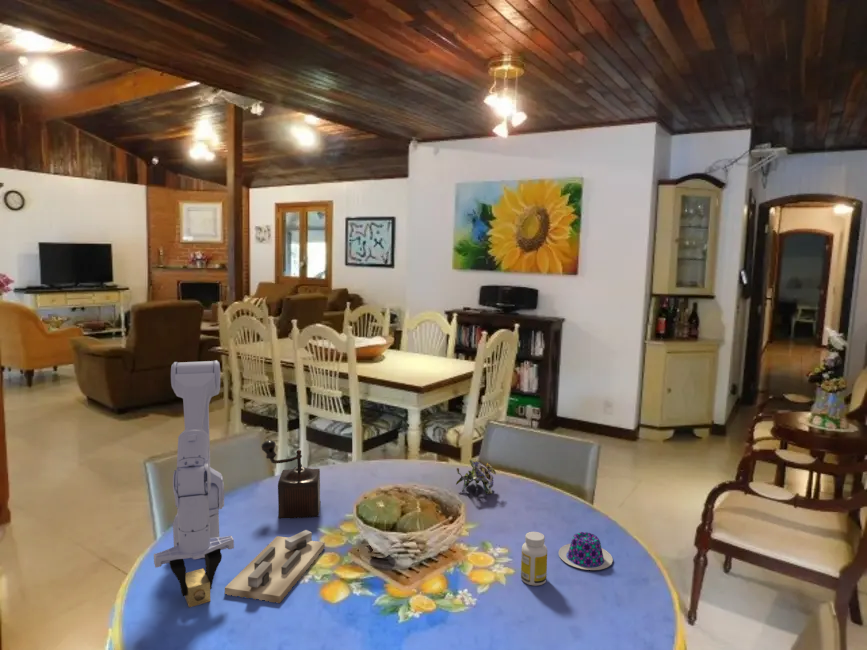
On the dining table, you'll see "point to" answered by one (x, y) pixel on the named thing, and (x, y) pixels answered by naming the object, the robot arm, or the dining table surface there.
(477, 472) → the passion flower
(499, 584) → the dining table surface
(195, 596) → the block
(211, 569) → the robot arm
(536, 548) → the supplement bottle
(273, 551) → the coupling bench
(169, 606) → the dining table surface
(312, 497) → the brown manual coffee grinder
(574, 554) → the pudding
